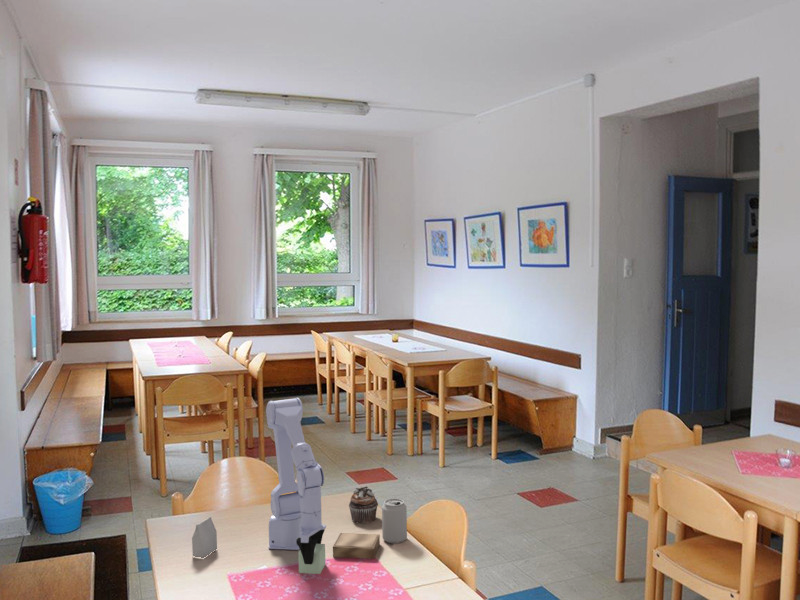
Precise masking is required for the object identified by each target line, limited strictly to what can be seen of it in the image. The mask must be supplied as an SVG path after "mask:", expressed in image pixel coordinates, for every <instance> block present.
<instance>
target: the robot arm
mask: <svg viewBox="0 0 800 600" xmlns="http://www.w3.org/2000/svg"><path fill="white" fill-rule="evenodd" d="M303 413H304V406H303V402H302V400H301V399H300V398H299V397H295V398H289V399H287V398H286V399H279V400H269V401H268V402H267V404H266V408H265V414H266V424H267V428H269V429H270V430H272V431H273V436H274V443H275V445H274V446H275V454H276V466H277V474H278V482H279V483H278V484H277V485H276V486H275V487H274V488H273V489H272V491H271V492H270V511H271V514H272V515H271V516H270V518H269V521H268V549H269V550H270V549H271V550H286V551H287V550H289V551H291V550H292V551H299V550H301V553H302V556H303V560H304V563H305V564H312V563H313V558H314V550H315V546H316V544H322V540H323V537H324V533H325V530H326V528H327V524H323V522H322V488H321V487H323V486H324V483H325V474H324V471H323V468H322V466H321V465H320V464H319V462H317V461H316V458H315V456H314V453H313V449H312V447H311V445H310V444H308V443H307V442H306V441H305V436H304V432H303V427H302V424H301V423H302V422H301V421H302V418H303V415H304V414H303ZM294 466H295V467H294ZM294 468H295V469H294ZM295 470H296V476H295ZM295 477H296V478H295Z"/></svg>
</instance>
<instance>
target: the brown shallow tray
mask: <svg viewBox="0 0 800 600" xmlns="http://www.w3.org/2000/svg"><path fill="white" fill-rule="evenodd" d="M380 537H381V536H380V534H374V533H373V534H371V533H369V534H368V533H347V532H340V533H339V535H338V536H337V539H336V540H335V542H334V544H333V546H332V557H333V558H350V559H369V560H370V559H373V560H374V559H375V557H376V554H377V552H378V549H379V547H380V544H381V543H380V542H381V540H380Z"/></svg>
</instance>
